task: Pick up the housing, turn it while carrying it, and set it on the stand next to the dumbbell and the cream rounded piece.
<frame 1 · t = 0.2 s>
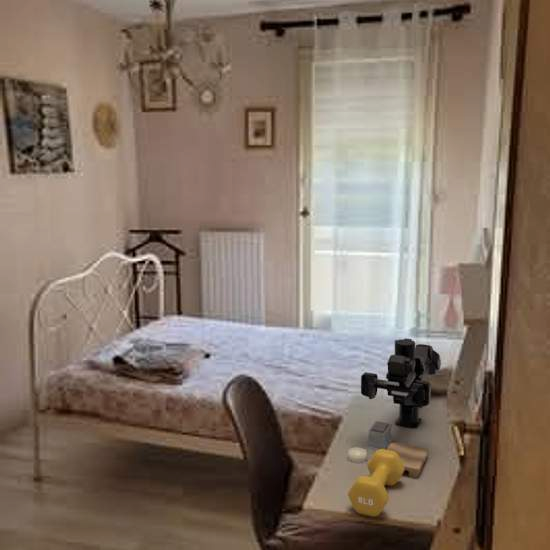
hand: (386, 400, 156), 16 cm above the table, tool horizontal, fingers open, 9 cm apart
housing: (380, 444, 168), on the table
dumbbell: (377, 497, 141), on the table
stand: (404, 464, 156), on the table
cream rounded piece: (357, 459, 160), on the table
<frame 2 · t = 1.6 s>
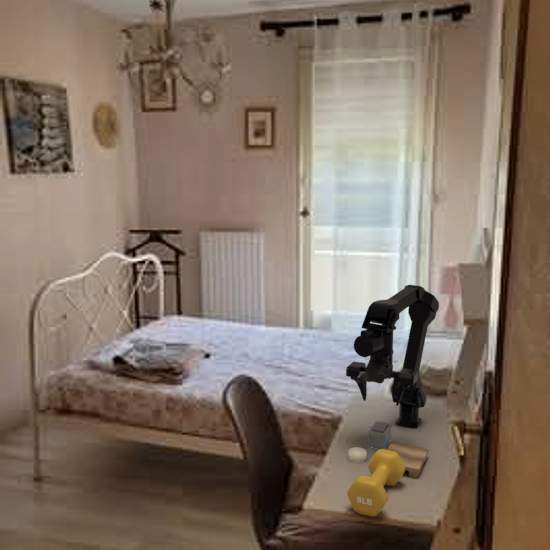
hand: (380, 402, 166), 12 cm above the table, tool pointing down, fingers open, 9 cm apart
nothing on the table moved.
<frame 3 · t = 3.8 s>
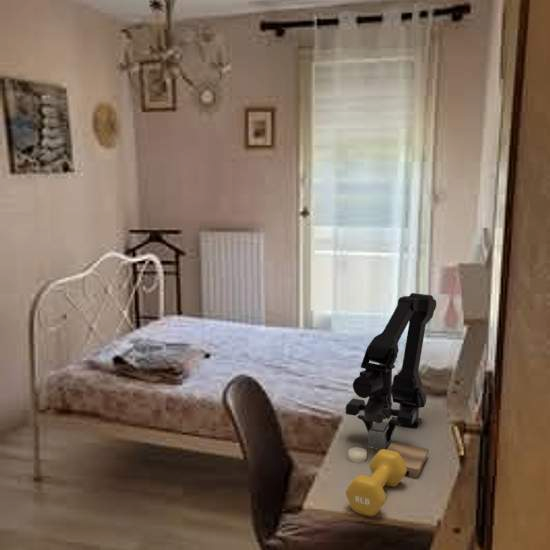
hand: (380, 440, 168), 1 cm above the table, tool pointing down, fingers closed on housing, 5 cm apart
housing: (380, 443, 168), on the table, touching gripper
everything else where it was.
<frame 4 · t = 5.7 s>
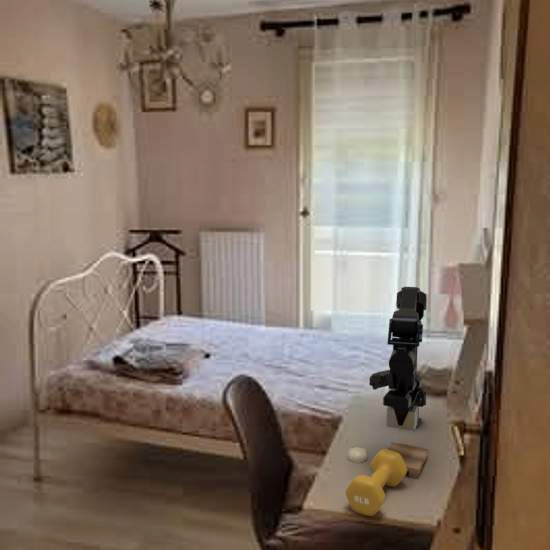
hand: (402, 421, 155), 11 cm above the table, tool pointing down, fingers closed on housing, 5 cm apart
housing: (402, 425, 155), point 10 cm above the table, touching gripper
everything else where it was.
when the fingers open (5 cm above the table, at t = 7.6 s): housing drops 1 cm, resting on stand.
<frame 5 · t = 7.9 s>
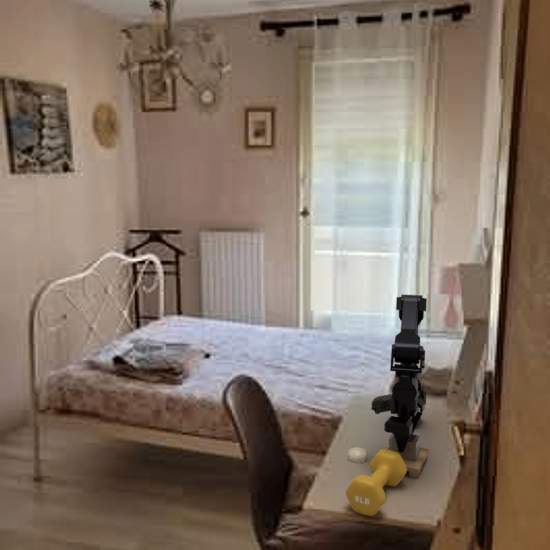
hand: (404, 446, 156), 5 cm above the table, tool pointing down, fingers open, 7 cm apart
housing: (404, 455, 156), point 2 cm above the table, touching stand
everything else where it was.
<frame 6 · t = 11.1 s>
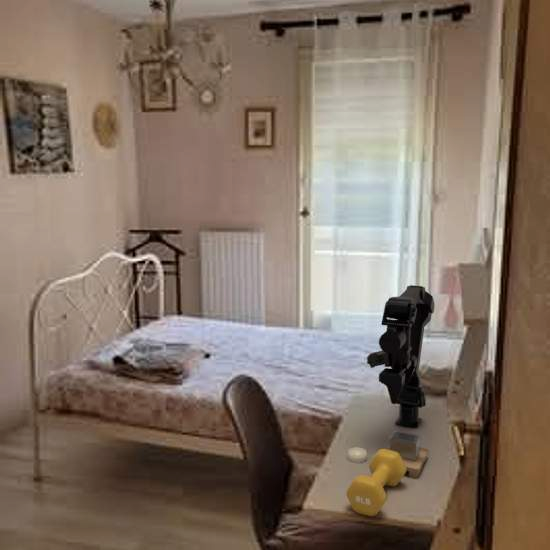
hand: (397, 397, 167), 13 cm above the table, tool pointing down, fingers open, 9 cm apart
nothing on the table moved.
at the end: housing inside the target area on the stand (0.1 cm from its centre), point 2.5 cm above the stand's base; housing tilted 0°; the gripper is holding nothing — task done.
